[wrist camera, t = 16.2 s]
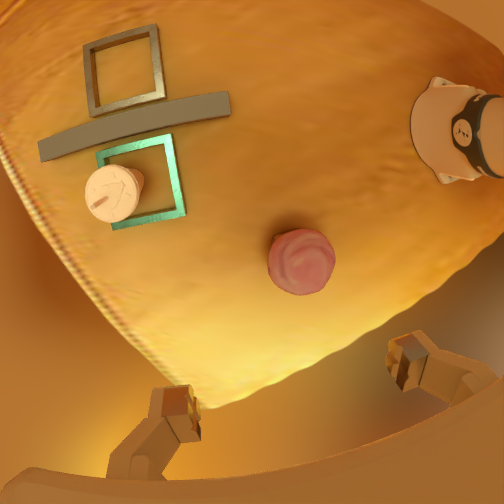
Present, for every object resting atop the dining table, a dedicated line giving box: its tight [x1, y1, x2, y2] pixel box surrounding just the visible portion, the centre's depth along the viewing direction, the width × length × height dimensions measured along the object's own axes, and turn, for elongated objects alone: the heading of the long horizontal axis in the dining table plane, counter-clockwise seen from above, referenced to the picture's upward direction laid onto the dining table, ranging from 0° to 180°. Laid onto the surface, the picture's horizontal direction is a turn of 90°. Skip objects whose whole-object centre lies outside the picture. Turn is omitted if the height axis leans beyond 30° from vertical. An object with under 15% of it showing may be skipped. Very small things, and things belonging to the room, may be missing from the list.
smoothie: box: [85, 165, 144, 223], centre depth 32 cm, size 6×6×14 cm
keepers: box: [83, 23, 187, 230], centre depth 35 cm, size 10×27×2 cm, turn 8°
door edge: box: [38, 91, 231, 163], centre depth 34 cm, size 26×3×4 cm, turn 98°
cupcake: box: [267, 229, 335, 295], centre depth 41 cm, size 9×9×10 cm
